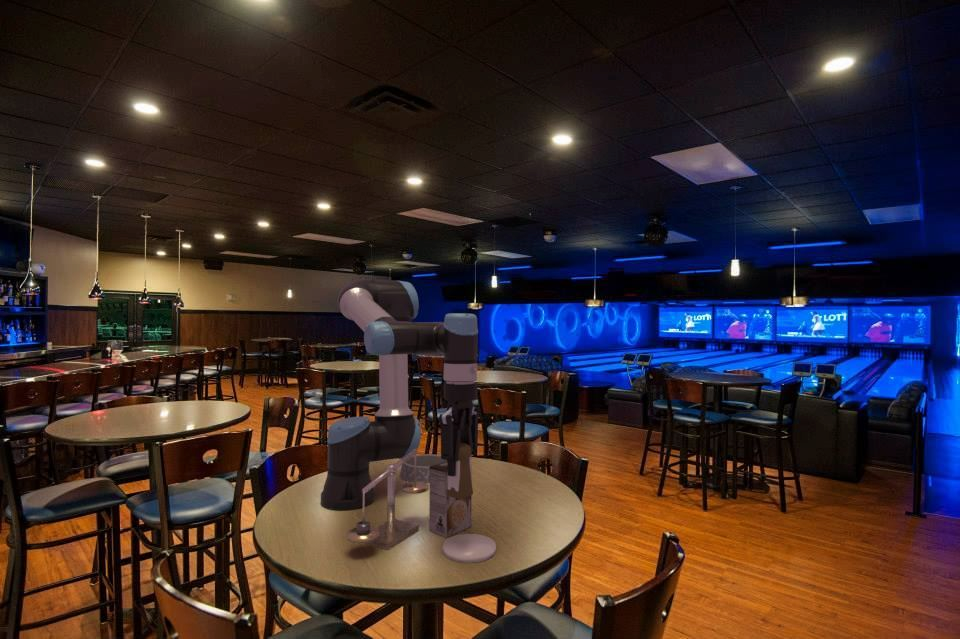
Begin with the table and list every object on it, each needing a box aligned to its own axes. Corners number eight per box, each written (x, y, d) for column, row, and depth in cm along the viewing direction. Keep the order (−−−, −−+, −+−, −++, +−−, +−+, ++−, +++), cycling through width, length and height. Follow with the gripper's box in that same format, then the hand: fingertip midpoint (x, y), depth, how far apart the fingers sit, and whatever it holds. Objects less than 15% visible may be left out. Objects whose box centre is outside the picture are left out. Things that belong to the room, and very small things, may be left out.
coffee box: (453, 520, 129) (454, 458, 129) (472, 526, 125) (472, 463, 125) (428, 531, 122) (428, 465, 122) (446, 538, 118) (447, 470, 118)
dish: (432, 554, 109) (432, 549, 109) (460, 535, 120) (460, 530, 120) (479, 567, 104) (479, 562, 104) (504, 545, 114) (504, 540, 114)
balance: (338, 554, 109) (339, 468, 109) (410, 515, 132) (411, 443, 132) (366, 563, 105) (367, 473, 105) (435, 521, 128) (436, 447, 129)
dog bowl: (462, 473, 171) (462, 457, 172) (429, 487, 156) (429, 470, 156) (423, 465, 180) (423, 450, 180) (388, 478, 165) (389, 462, 165)
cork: (452, 487, 114) (452, 439, 114) (476, 490, 112) (477, 442, 112) (441, 495, 108) (442, 445, 109) (467, 499, 106) (467, 448, 107)
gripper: (453, 387, 101) (452, 501, 101) (493, 379, 116) (492, 479, 116) (424, 384, 105) (422, 495, 105) (466, 377, 120) (465, 474, 120)
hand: (459, 486), depth 110 cm, fingers closed on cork, 4 cm apart
